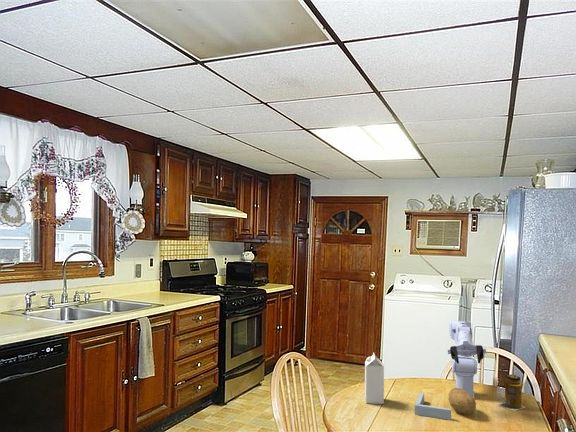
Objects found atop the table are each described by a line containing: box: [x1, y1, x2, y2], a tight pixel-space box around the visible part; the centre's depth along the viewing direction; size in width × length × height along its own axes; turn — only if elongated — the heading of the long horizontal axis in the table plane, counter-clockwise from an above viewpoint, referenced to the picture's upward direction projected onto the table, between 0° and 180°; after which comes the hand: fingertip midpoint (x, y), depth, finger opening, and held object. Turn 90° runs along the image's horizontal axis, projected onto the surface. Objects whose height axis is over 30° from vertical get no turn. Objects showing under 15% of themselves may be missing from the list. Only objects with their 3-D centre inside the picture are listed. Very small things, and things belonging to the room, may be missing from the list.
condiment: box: [497, 374, 526, 412], centre depth 187 cm, size 7×8×12 cm
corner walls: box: [414, 391, 452, 421], centre depth 182 cm, size 16×13×4 cm
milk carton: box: [364, 352, 385, 405], centre depth 192 cm, size 7×7×19 cm
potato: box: [448, 387, 477, 415], centre depth 180 cm, size 10×14×8 cm
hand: (468, 361), depth 181 cm, fingers open, 7 cm apart
